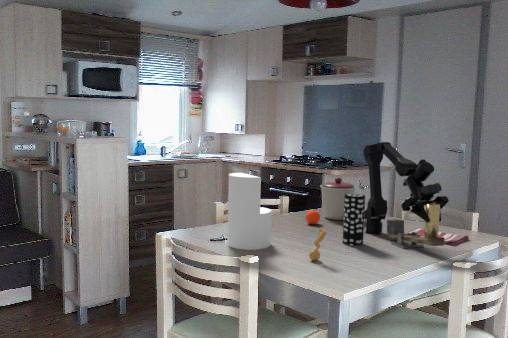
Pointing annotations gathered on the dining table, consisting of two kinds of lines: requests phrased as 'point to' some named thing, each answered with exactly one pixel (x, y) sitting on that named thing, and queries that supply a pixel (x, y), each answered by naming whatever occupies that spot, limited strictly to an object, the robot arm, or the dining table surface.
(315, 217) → the clementine
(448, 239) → the dish towel
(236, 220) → the white stepped pillar
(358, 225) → the spotted tube
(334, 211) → the canister
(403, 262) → the dining table surface
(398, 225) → the balance beam
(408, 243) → the beam stand
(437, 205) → the brass weight
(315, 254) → the figurine
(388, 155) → the robot arm
